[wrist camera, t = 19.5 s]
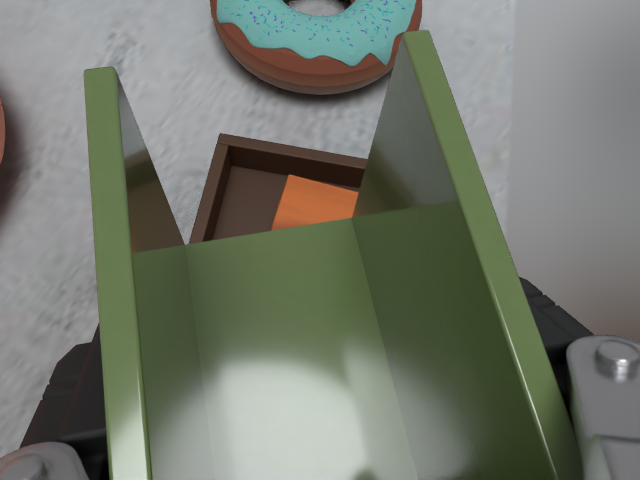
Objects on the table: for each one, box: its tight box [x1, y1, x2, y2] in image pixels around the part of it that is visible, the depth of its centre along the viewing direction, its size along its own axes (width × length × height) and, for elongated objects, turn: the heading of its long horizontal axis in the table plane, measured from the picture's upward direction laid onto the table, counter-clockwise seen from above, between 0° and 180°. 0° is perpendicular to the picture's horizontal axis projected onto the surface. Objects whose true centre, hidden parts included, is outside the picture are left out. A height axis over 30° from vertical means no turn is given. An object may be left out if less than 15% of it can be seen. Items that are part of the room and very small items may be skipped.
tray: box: [189, 133, 368, 244], centre depth 26 cm, size 12×11×2 cm
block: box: [270, 175, 359, 231], centre depth 26 cm, size 4×4×4 cm
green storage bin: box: [84, 30, 584, 480], centre depth 11 cm, size 10×6×8 cm, turn 12°
